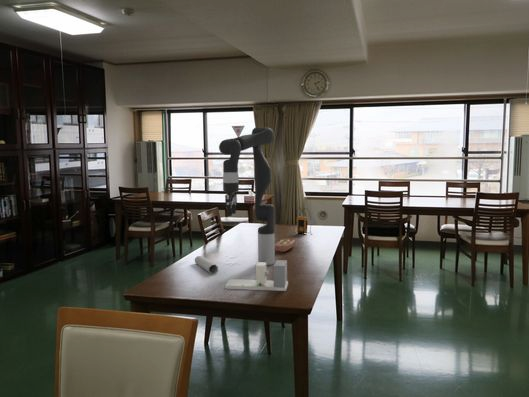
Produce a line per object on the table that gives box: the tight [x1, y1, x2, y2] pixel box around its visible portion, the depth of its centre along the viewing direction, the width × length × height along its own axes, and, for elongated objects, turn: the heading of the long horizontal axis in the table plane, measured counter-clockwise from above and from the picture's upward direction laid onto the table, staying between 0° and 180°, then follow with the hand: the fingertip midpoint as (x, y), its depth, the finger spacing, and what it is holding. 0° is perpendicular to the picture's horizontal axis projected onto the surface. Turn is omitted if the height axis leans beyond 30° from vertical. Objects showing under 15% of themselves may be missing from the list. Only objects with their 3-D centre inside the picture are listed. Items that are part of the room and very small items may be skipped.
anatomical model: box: [275, 237, 296, 253], centre depth 282 cm, size 23×10×5 cm, turn 162°
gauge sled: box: [255, 261, 269, 286], centre depth 205 cm, size 8×5×9 cm, turn 171°
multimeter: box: [292, 207, 312, 234], centre depth 333 cm, size 15×10×20 cm
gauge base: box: [224, 259, 289, 292], centre depth 206 cm, size 10×28×12 cm, turn 81°
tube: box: [194, 255, 219, 275], centre depth 239 cm, size 5×5×25 cm
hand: (231, 214), depth 215 cm, fingers open, 8 cm apart
